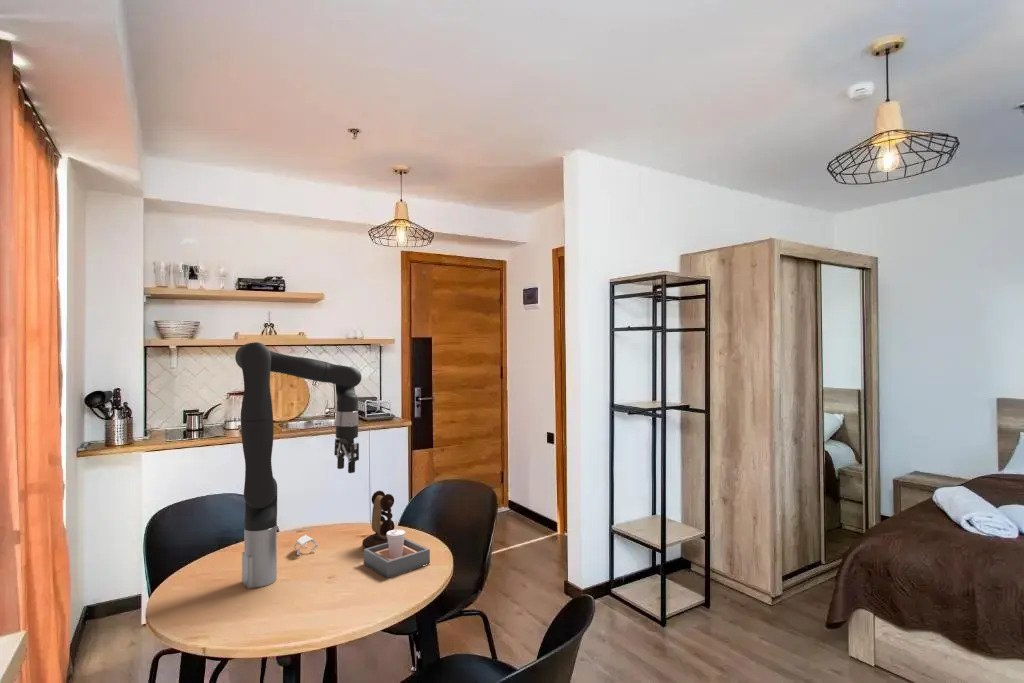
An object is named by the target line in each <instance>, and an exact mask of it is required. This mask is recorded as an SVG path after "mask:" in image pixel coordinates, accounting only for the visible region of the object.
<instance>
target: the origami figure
mask: <svg viewBox="0 0 1024 683" xmlns="http://www.w3.org/2000/svg"><path fill="white" fill-rule="evenodd" d="M310 542H311V543H313V544H314V546H313V548H312V549H311V551H312V552H314V553H316V551H315V549H317V548H318V547H319V546H320V545H319V544H318V543H317V542H316V541H315V538H312V537H310V536H308V535H307V534H304V535H302V536H300V537H299V539H298V540H296V543H295V544H294V545H293V548H294V549H295V551H296V552H297V553H296V555H297V556H299V558H298V559H301V557H302V554H300V552H301V549H302V547H303V546H304V547H305V548H306V549H309V547H308V546H307V544H308V543H310ZM297 545H299V546H300V547H299V549H297V548H296V546H297Z"/></svg>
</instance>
